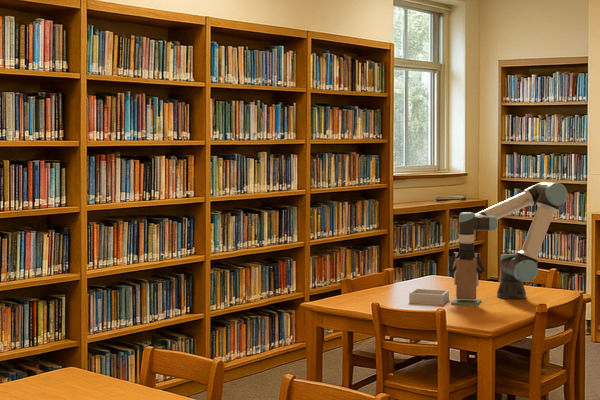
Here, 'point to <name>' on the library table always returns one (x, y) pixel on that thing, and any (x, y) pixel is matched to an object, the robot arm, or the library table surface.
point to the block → (466, 278)
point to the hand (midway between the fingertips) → (466, 285)
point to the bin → (429, 296)
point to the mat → (466, 302)
